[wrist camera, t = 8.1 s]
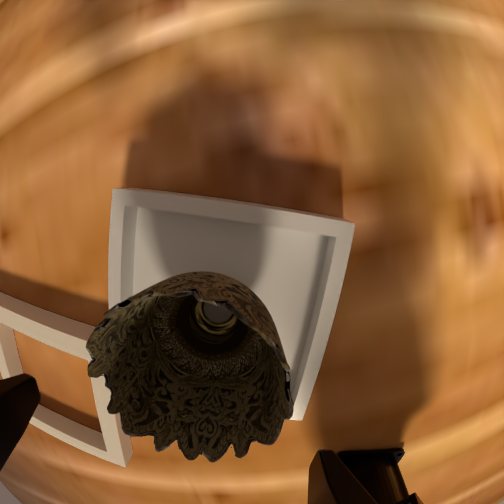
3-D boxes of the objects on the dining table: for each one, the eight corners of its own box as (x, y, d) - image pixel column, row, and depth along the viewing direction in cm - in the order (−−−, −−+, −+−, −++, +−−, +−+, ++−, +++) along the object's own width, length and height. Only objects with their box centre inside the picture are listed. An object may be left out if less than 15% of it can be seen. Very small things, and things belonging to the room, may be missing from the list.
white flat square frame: (119, 333, 18) (106, 347, 17) (133, 453, 21) (126, 467, 19) (-3, 290, 19) (-17, 297, 17) (25, 405, 22) (16, 414, 20)
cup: (145, 251, 16) (58, 299, 8) (276, 236, 16) (284, 283, 8) (171, 365, 18) (124, 454, 10) (288, 359, 17) (297, 462, 9)
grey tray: (343, 218, 16) (355, 223, 14) (299, 396, 19) (302, 420, 16) (133, 187, 16) (113, 188, 14) (129, 363, 19) (114, 383, 17)
